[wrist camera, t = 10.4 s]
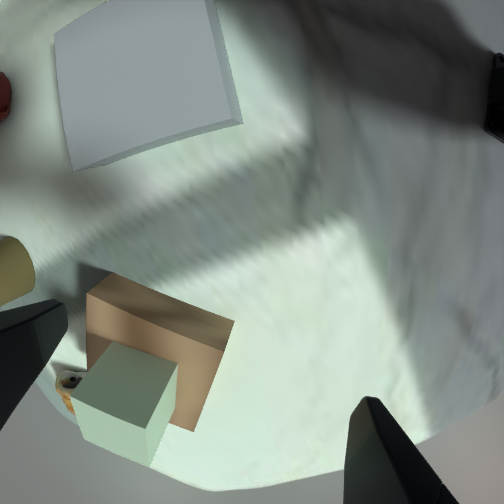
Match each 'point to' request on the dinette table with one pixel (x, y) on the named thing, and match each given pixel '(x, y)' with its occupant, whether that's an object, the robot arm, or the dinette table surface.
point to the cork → (14, 270)
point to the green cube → (126, 402)
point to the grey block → (142, 78)
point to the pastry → (68, 385)
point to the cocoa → (4, 96)
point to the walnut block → (159, 337)
